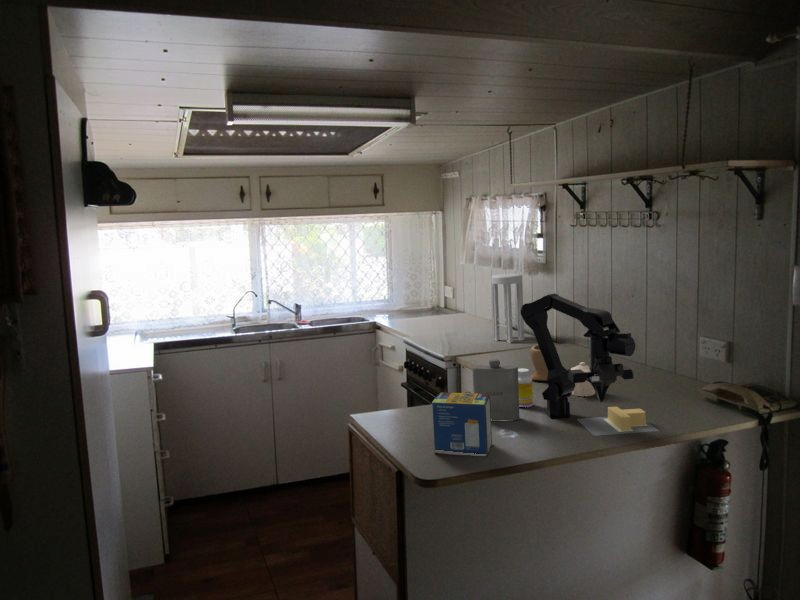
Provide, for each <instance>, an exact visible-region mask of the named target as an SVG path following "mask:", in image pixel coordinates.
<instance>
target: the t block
mask: <svg viewBox="0 0 800 600" xmlns="http://www.w3.org/2000/svg"><path fill="white" fill-rule="evenodd" d="M607 417H608V420H609V421H611V422H612V423H613V424H614V425H615V426H617V427H618V428H619V429H620V430H621V431H623V430H631V426H636V425H646V422H647V420H646V417H647V416H646V411H645V410H643V409H641V408H629V409H628V408H627V409H621V408H620V407H618V406H608V407H607Z"/></svg>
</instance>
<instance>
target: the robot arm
mask: <svg viewBox="0 0 800 600" xmlns="http://www.w3.org/2000/svg"><path fill="white" fill-rule="evenodd" d="M552 309H553V310H556V311H557V312H560V313H562V314H564V315H567V316H569V317H570V318H573V319H575V320H577V321H579V322H580V323H581V324H582V326H583V327H585V328H586V329H588V330H587V331H586V332H584V334H583V337H585V338H589V349H590V351H589V354H588V357H589V359H590V361H589V362H590V366H589V370H590V371H591V372H584V371H582V370H581V369H579V370H571V368H570V369H566V368H565V367H564V366H563V364H562V362H561V358H560V357H559V353H558V350H556V349H557V347H556V348H555V346H556V345H555V342H554V341H553V337H552V334H551V333H550V330H549V328H548V317H549V315H548V312H549V311H550V310H551V311H552ZM520 313H521V316H522V318H523V320H524V324H526V326H527V327H529V329H531V330H532V332H533V334H534V337H535V340H536V344H538V346H539V348H540V351H541V353H542V356H543V359H544V361H545V364H546V367H547V369H548V377H547V381H546V382H547V386H548V387H547V388H546V389H544V391H542V393H541V395H542V397H543V400H545V401H546V411H545V415H546V416H547V417H548V418H549V419H551V420H558V419H559V420H560V419H570V418H571V416H570V414H571V405H570V404H571V403H570V401H569V397H571V396H572V395H573V394H572V392H573V390H574V388H575V383H583V382H585V381H586V380H587V381H588V382H590V383H591V384H592V386H593V388H594V390H595V395H596V397H597V399H598V402H600V403H603V402H604V400H605V396H606V394H607V391H608V390H609V387H610V386H611V385H612V384H615V382H616V381H617V380H618V377H621V378H622V379H623V380H632V379H634V370H632V368H629V367H627V366H626V365H625V366H624V364H623V363H613V358H612V356H611V355H615V356H624V357H632V356H633V355H634V353H635V351H636V343H635V340H634V338H633V337H632V333H631V332H621V330H620V329H619V327H618V326H617V324H616V322H615V320H614V319H613V316H612V313H611V312H610V311H608V310H604V309H600V308H592V307H587V306H584V305H581V304H579V303H578V302H574V301H573V300H569V299H567V298H564V297H562V296H560V295H559V294H558V293H549V294H545V295H544V296H542V297H541V298H538V299H536V300H534V301H532V302H527V303H523V306H522V308H521V310H520ZM594 374H595V375H594Z"/></svg>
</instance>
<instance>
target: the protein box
mask: <svg viewBox="0 0 800 600" xmlns="http://www.w3.org/2000/svg"><path fill="white" fill-rule="evenodd" d="M431 405H432V406H431V408H432V427H433V428H432V429H433V447H434V448H433V449H434V450H444V451H453V452H463V453H474V454H475V453H476V454H487V452H488V450H489V448H490V446H491V447H492V445H493V436H492V435H493V433H492V421H491V408H490V394H478V393H474V392H470V393H467V392H439V394H438V395H437V396H435V398H434V399H433V401H432V402H431ZM491 444H492V445H491ZM490 449H491V448H490ZM489 451H490V450H489ZM488 453H489V452H488Z"/></svg>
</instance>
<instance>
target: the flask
mask: <svg viewBox="0 0 800 600" xmlns="http://www.w3.org/2000/svg"><path fill="white" fill-rule="evenodd" d="M518 369H519V367H518V366H517V365H510V364H509V365H501V361H500V359H495V358H493V359H490V360H489V361H488V365H487V364H477V365H473V366H472V386H473V387H472V389H473V391H472V393H478V394H490V408H491V419H492V420H517V419H518V420H520V408H519V385H518ZM518 420H517V421H518Z"/></svg>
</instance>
